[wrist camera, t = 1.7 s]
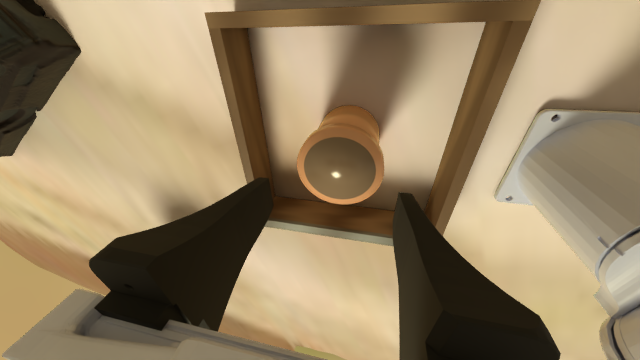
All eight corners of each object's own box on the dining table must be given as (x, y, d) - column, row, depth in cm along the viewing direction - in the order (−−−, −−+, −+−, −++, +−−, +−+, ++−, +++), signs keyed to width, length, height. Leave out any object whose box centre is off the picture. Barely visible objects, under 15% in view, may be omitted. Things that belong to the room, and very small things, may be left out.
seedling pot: (387, 102, 18) (390, 132, 13) (378, 166, 21) (378, 209, 16) (315, 100, 19) (293, 126, 14) (317, 161, 22) (299, 199, 17)
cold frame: (506, 4, 13) (546, -3, 10) (429, 222, 23) (437, 253, 20) (234, 14, 16) (200, 12, 13) (269, 201, 26) (255, 225, 23)
